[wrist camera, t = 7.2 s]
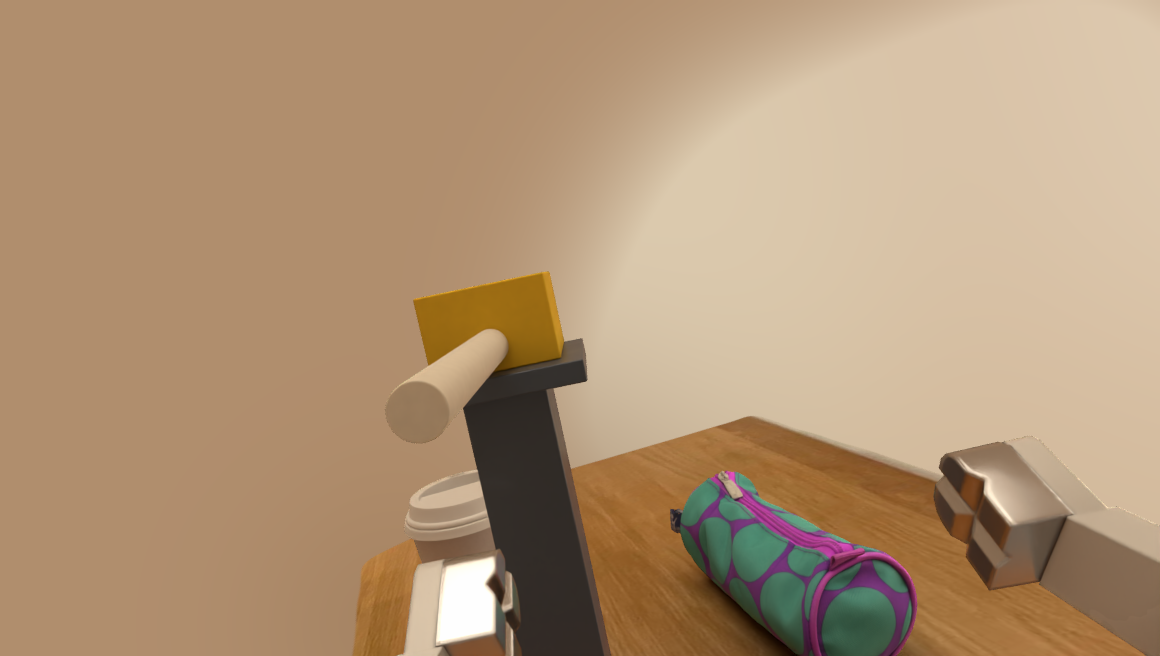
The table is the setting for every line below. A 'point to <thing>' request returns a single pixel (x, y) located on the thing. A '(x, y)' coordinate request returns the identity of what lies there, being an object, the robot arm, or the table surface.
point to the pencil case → (796, 573)
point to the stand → (537, 504)
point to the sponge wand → (473, 348)
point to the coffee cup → (449, 518)
